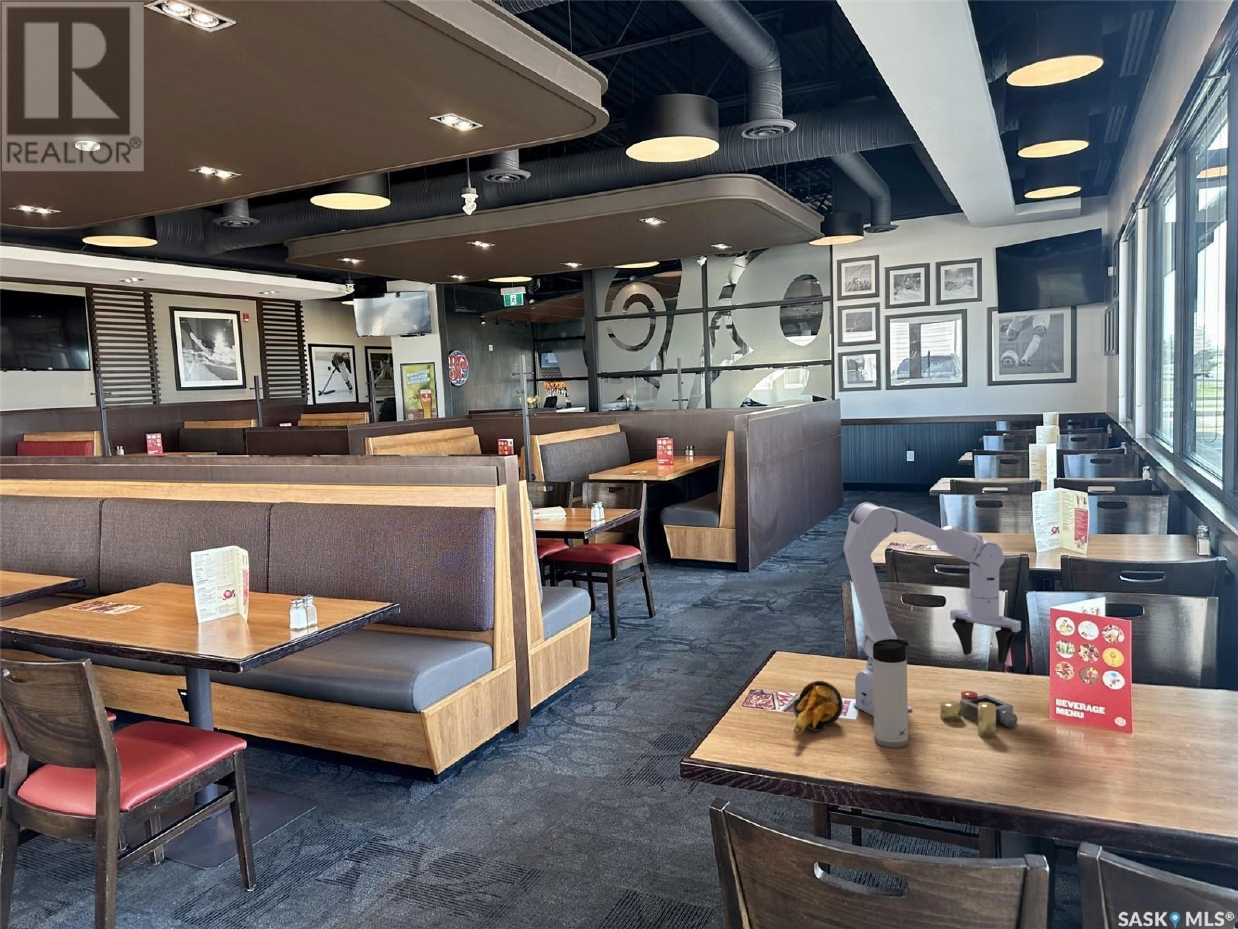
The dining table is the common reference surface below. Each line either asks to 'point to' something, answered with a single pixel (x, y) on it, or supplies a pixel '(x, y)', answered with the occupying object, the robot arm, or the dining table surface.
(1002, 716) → the valve body
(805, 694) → the fried food
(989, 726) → the brass nipple
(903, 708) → the travel mug
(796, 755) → the dining table surface
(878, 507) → the robot arm
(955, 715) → the brass union nut
